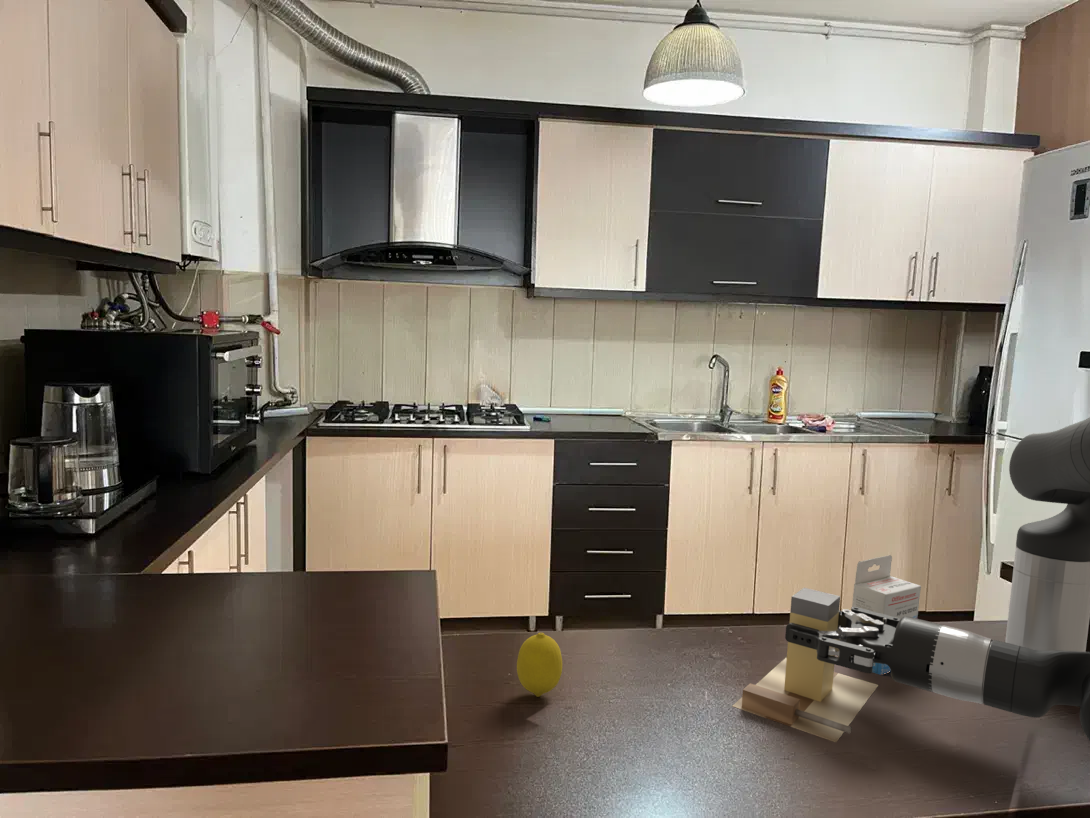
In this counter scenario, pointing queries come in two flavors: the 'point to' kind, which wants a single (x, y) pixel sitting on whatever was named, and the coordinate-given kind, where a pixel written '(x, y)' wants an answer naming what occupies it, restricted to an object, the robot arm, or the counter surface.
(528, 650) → the lemon
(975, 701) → the robot arm
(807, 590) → the yellow block grey top
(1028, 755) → the counter surface
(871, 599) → the ink box
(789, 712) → the awl
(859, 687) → the plywood panel
